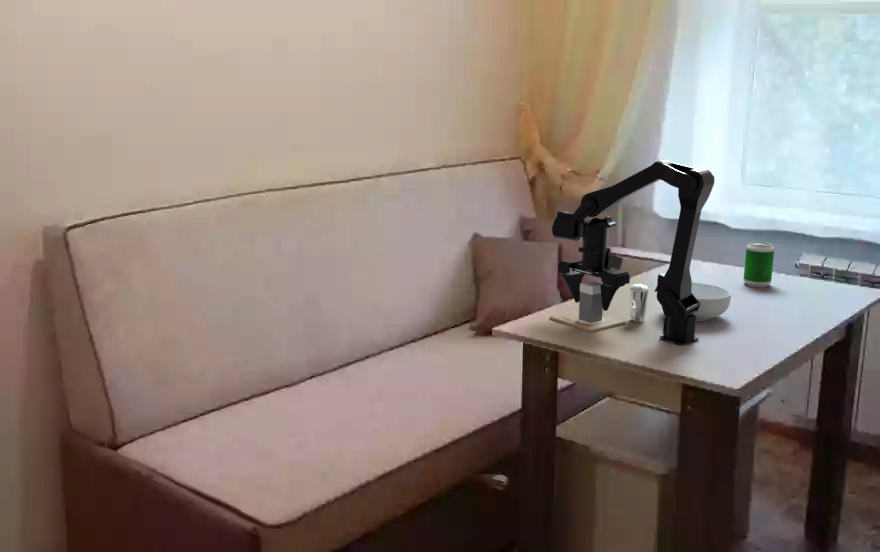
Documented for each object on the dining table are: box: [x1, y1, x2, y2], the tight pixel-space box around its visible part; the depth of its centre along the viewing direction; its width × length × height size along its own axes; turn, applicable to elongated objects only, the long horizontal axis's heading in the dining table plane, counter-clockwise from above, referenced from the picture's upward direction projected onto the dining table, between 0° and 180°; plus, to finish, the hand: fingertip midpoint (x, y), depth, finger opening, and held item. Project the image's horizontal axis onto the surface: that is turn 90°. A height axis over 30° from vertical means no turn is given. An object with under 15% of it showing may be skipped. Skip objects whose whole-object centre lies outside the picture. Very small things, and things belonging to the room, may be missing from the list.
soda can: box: [742, 241, 775, 288], centre depth 272 cm, size 8×8×12 cm
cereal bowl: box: [691, 281, 732, 322], centre depth 240 cm, size 17×17×7 cm
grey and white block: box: [578, 280, 604, 323], centre depth 233 cm, size 4×4×9 cm
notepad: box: [549, 309, 626, 333], centre depth 235 cm, size 14×12×1 cm
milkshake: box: [629, 281, 654, 323], centre depth 235 cm, size 4×5×10 cm
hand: (591, 306), depth 234 cm, fingers open, 9 cm apart
